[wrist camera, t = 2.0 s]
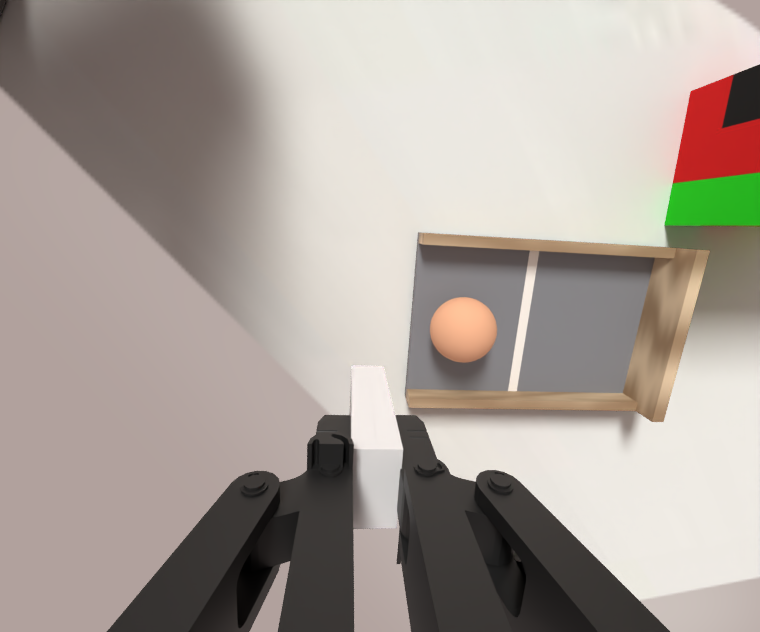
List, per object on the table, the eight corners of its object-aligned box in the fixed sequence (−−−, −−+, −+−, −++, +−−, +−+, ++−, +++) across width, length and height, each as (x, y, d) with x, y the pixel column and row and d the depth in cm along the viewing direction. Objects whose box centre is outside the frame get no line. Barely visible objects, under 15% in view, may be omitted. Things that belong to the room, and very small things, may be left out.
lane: (418, 232, 29) (419, 232, 28) (662, 247, 31) (668, 247, 30) (404, 394, 32) (405, 397, 32) (626, 398, 34) (631, 401, 34)
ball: (426, 290, 30) (442, 303, 25) (486, 293, 30) (513, 306, 25) (421, 348, 31) (435, 372, 26) (479, 350, 31) (502, 373, 26)
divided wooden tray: (419, 232, 28) (429, 233, 25) (668, 247, 30) (710, 250, 27) (405, 397, 32) (412, 418, 28) (630, 401, 34) (663, 421, 30)
